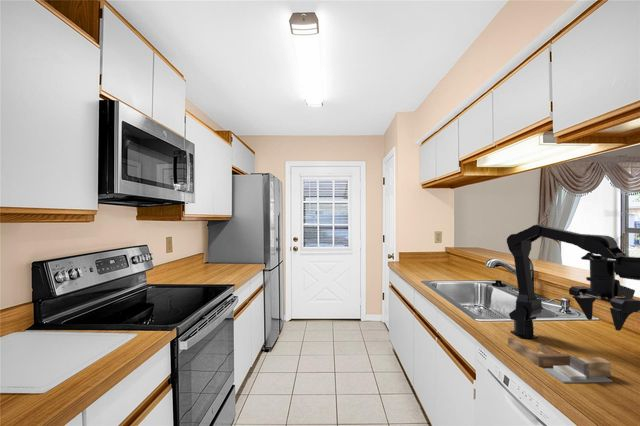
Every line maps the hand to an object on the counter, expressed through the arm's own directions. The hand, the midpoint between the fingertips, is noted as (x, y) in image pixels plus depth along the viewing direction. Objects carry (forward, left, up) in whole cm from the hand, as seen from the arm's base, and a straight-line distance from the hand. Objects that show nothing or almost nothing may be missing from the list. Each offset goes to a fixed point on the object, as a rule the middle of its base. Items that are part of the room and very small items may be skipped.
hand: (603, 324), depth 93 cm
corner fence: (-6, -17, -12) cm, 22 cm away
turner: (+7, -13, -12) cm, 19 cm away
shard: (-7, -14, -13) cm, 20 cm away
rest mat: (+7, -15, -12) cm, 20 cm away
